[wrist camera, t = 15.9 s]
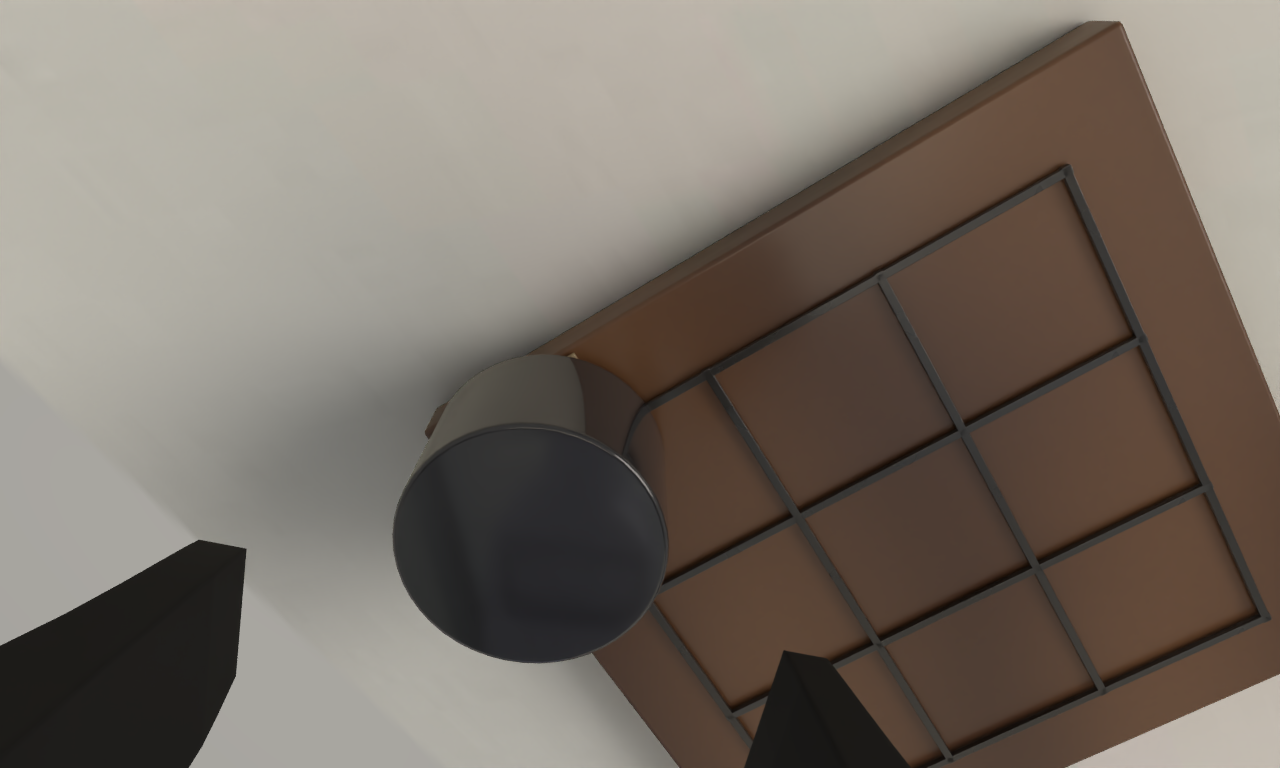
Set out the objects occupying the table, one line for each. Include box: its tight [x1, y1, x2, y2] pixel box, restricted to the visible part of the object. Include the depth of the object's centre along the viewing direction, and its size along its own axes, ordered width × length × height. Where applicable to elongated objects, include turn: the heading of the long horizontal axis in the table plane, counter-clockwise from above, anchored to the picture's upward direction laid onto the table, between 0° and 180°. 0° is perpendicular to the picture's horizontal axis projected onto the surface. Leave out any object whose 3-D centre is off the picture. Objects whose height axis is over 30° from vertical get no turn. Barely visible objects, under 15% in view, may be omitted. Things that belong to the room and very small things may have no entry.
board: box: [425, 21, 1280, 768], centre depth 19 cm, size 14×14×1 cm
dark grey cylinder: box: [392, 354, 669, 663], centre depth 17 cm, size 4×4×3 cm
